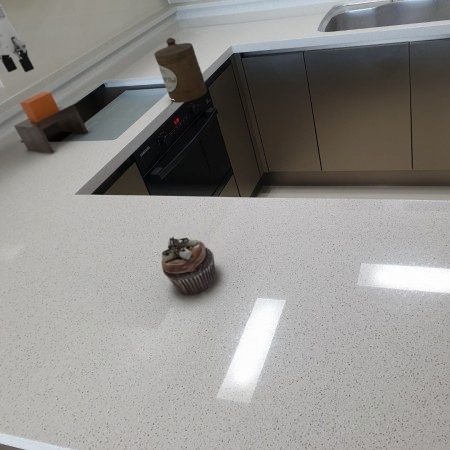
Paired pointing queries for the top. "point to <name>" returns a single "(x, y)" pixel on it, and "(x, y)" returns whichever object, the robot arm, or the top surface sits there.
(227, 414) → the top surface
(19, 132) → the shelf
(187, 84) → the wooden container
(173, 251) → the cupcake
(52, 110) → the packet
